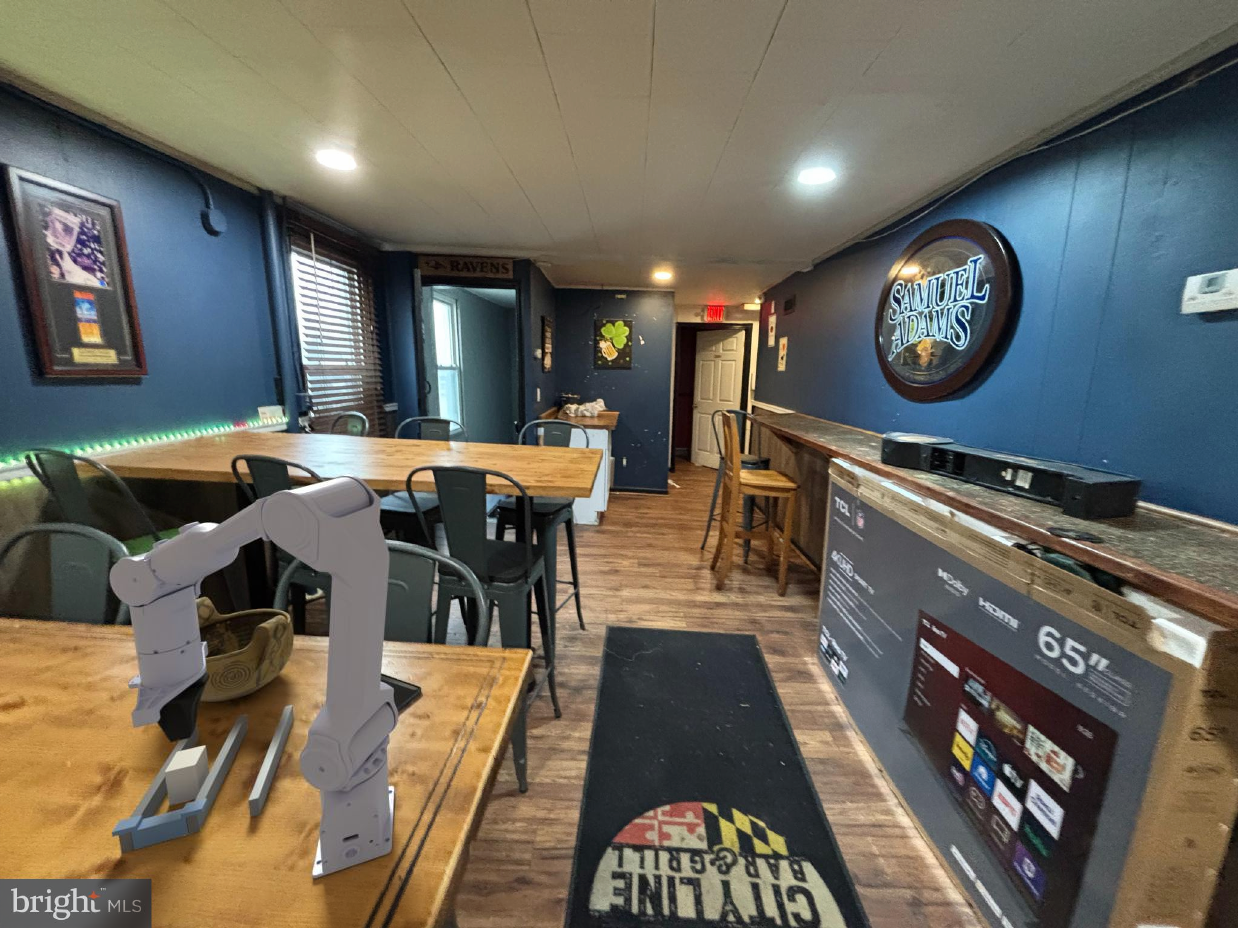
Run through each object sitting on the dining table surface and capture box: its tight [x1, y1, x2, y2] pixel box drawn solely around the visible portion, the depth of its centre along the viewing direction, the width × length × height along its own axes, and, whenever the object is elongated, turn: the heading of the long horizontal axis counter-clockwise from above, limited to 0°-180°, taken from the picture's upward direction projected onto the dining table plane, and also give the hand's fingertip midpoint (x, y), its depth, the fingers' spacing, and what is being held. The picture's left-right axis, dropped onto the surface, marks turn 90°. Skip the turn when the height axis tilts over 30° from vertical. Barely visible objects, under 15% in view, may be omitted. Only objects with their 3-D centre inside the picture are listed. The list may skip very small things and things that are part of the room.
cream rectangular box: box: [165, 745, 210, 806], centre depth 60 cm, size 4×3×5 cm
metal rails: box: [111, 704, 295, 854], centre depth 63 cm, size 18×14×3 cm
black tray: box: [381, 672, 422, 714], centre depth 80 cm, size 8×1×15 cm
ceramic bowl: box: [196, 596, 295, 703], centre depth 79 cm, size 22×17×15 cm
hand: (182, 736), depth 59 cm, fingers closed
